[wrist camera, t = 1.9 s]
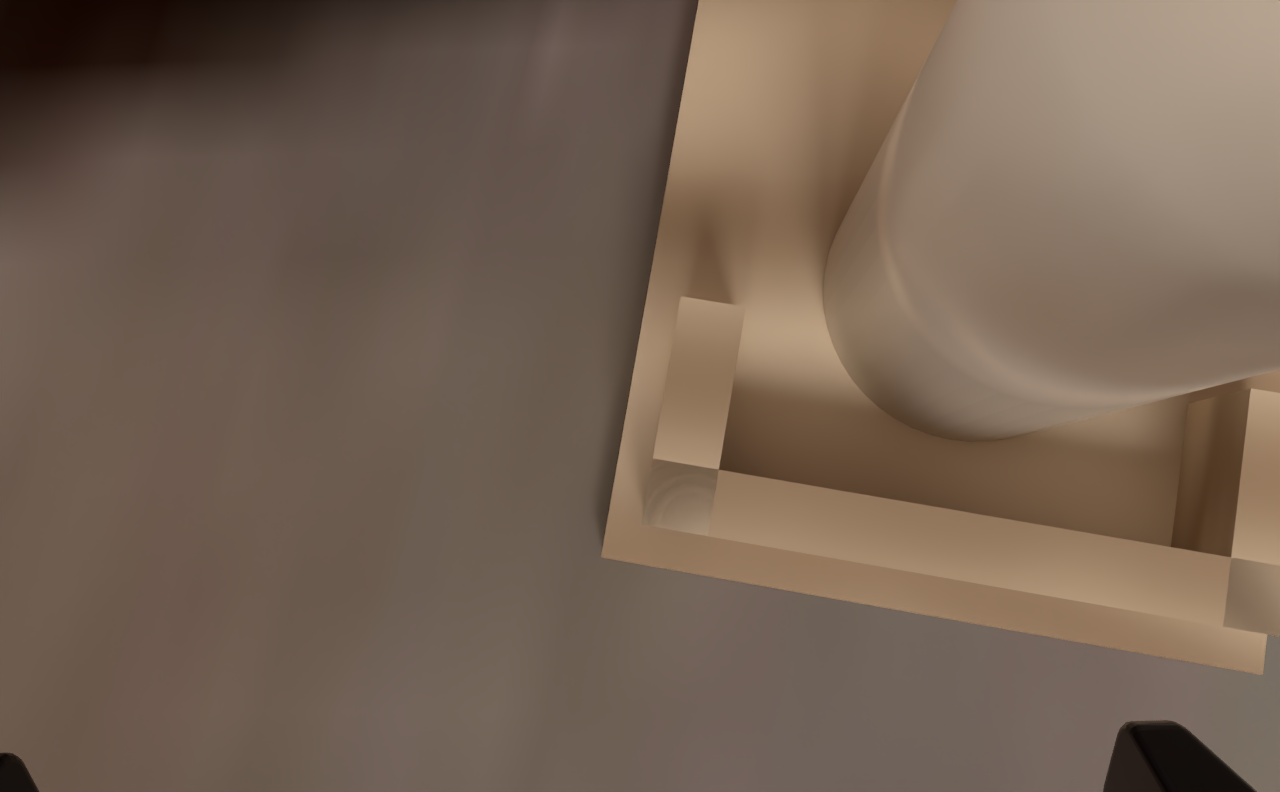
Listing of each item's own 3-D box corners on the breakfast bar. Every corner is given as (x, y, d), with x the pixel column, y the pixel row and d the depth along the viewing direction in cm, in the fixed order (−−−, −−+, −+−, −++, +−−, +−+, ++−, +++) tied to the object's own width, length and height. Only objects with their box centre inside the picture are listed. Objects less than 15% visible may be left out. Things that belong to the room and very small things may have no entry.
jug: (1102, 465, 22) (1803, 371, 8) (801, 414, 22) (987, 243, 9) (1154, 67, 23) (1871, -627, 9) (864, 25, 23) (1125, -705, 9)
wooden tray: (1237, 668, 23) (1337, 694, 19) (605, 556, 23) (589, 561, 20) (1307, 57, 24) (1412, -22, 20) (707, -28, 25) (709, -118, 21)
